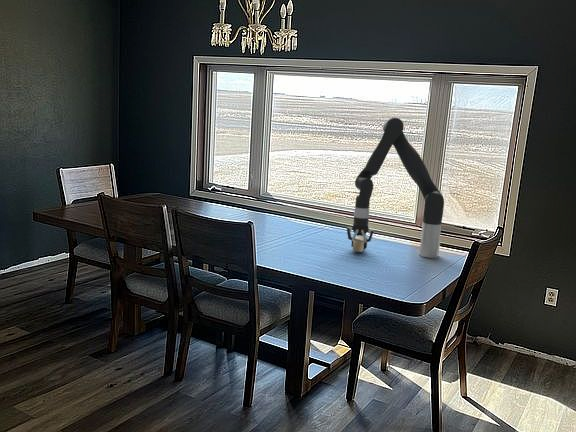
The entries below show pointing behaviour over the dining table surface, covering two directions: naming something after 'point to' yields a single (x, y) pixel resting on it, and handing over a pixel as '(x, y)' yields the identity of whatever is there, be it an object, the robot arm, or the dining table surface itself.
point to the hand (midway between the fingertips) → (358, 248)
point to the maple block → (358, 244)
